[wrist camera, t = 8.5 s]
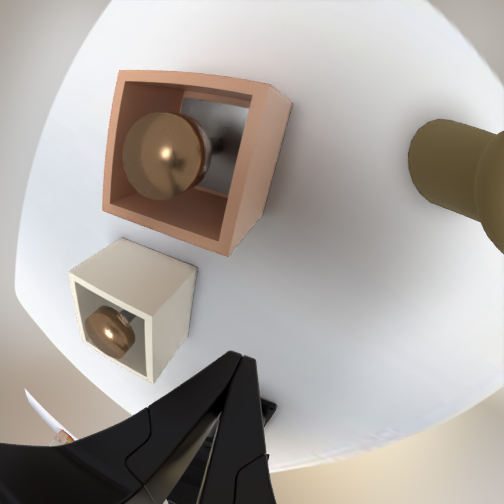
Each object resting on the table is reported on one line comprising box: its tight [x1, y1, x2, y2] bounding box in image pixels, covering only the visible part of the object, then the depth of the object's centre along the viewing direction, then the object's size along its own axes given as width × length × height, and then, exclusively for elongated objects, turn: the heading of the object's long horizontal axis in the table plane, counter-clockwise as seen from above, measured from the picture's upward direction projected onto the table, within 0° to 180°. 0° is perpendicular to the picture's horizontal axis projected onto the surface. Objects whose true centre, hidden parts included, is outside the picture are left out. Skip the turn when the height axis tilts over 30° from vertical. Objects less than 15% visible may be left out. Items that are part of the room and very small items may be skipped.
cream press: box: [69, 238, 198, 384], centre depth 22 cm, size 8×8×7 cm
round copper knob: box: [85, 306, 137, 359], centre depth 21 cm, size 6×6×7 cm
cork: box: [408, 119, 504, 254], centre depth 10 cm, size 6×6×11 cm
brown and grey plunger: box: [122, 97, 249, 200], centre depth 14 cm, size 6×6×7 cm
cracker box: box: [49, 430, 74, 446], centre depth 76 cm, size 14×6×21 cm, turn 177°
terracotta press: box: [102, 70, 293, 257], centre depth 15 cm, size 8×8×7 cm
